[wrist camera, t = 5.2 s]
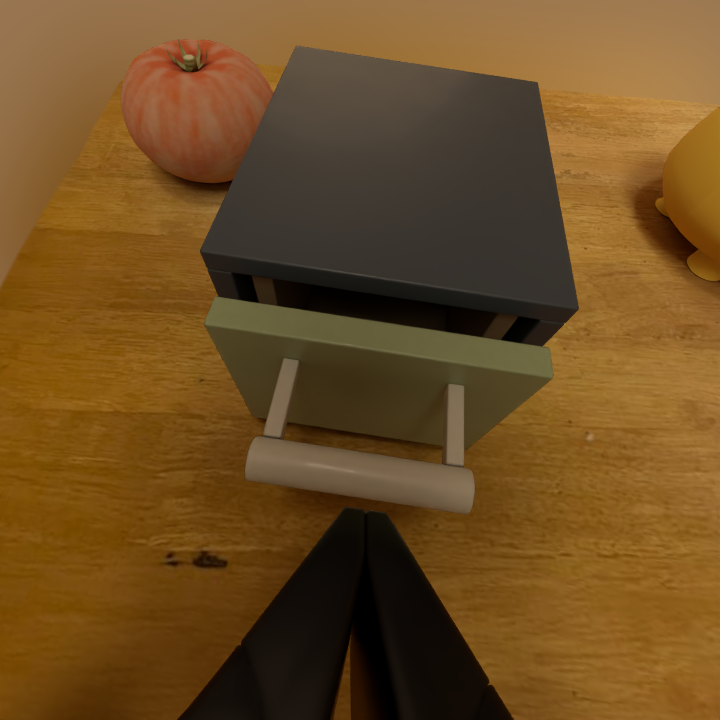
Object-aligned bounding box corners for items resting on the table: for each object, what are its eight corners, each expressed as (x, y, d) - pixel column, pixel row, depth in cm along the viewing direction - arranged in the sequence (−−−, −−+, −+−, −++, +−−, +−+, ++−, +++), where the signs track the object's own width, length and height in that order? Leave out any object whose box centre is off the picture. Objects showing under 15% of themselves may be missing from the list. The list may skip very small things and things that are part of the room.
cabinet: (471, 419, 22) (580, 309, 12) (255, 385, 22) (198, 250, 12) (470, 238, 29) (538, 81, 19) (306, 213, 29) (295, 44, 20)
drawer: (467, 538, 18) (573, 520, 10) (227, 501, 18) (148, 454, 10) (466, 261, 26) (523, 135, 19) (304, 236, 27) (294, 100, 19)
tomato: (161, 123, 33) (116, 5, 26) (285, 127, 34) (274, 14, 27) (135, 207, 28) (71, 88, 21) (282, 208, 29) (267, 96, 22)
